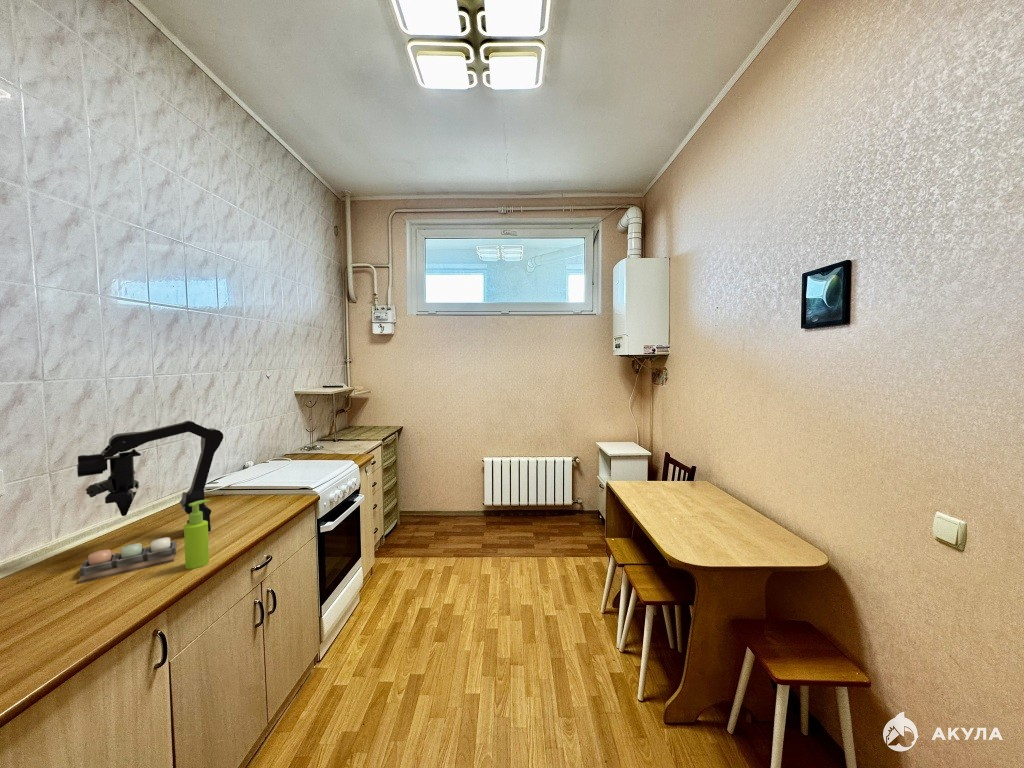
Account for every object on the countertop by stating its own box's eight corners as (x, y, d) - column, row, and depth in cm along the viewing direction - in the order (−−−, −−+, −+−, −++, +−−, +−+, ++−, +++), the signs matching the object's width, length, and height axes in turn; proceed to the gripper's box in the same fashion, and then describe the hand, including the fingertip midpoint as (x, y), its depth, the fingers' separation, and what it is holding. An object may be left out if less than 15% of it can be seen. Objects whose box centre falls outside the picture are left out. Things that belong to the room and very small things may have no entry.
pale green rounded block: (142, 553, 128) (142, 542, 128) (141, 559, 124) (140, 547, 124) (122, 558, 125) (121, 546, 125) (120, 564, 121) (119, 551, 121)
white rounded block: (171, 547, 133) (170, 536, 132) (170, 553, 129) (169, 541, 129) (152, 551, 130) (151, 540, 129) (150, 557, 126) (149, 545, 126)
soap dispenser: (217, 559, 127) (214, 499, 126) (193, 570, 120) (191, 506, 119) (204, 557, 129) (202, 497, 128) (181, 567, 122) (178, 504, 121)
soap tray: (177, 545, 137) (177, 537, 137) (175, 561, 126) (174, 551, 126) (88, 565, 124) (87, 555, 124) (76, 584, 113) (76, 573, 113)
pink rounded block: (112, 560, 124) (112, 548, 124) (109, 566, 120) (109, 553, 120) (90, 565, 121) (90, 552, 121) (87, 571, 117) (86, 558, 117)
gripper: (94, 469, 135) (96, 513, 136) (80, 481, 121) (83, 530, 121) (138, 464, 142) (140, 506, 143) (130, 475, 127) (132, 521, 128)
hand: (124, 515), depth 133 cm, fingers closed
